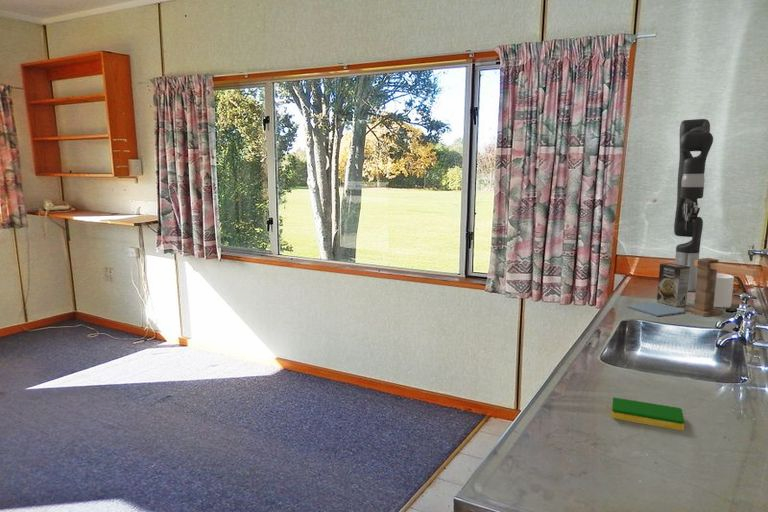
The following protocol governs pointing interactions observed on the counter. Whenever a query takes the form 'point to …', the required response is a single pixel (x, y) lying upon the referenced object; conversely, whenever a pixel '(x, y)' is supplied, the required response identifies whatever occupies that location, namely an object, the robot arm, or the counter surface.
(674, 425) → the dish sponge
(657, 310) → the rubber mat
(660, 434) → the counter surface
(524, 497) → the counter surface
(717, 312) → the guide stand
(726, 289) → the cup
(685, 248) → the robot arm
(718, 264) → the bar
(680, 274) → the coffee box
